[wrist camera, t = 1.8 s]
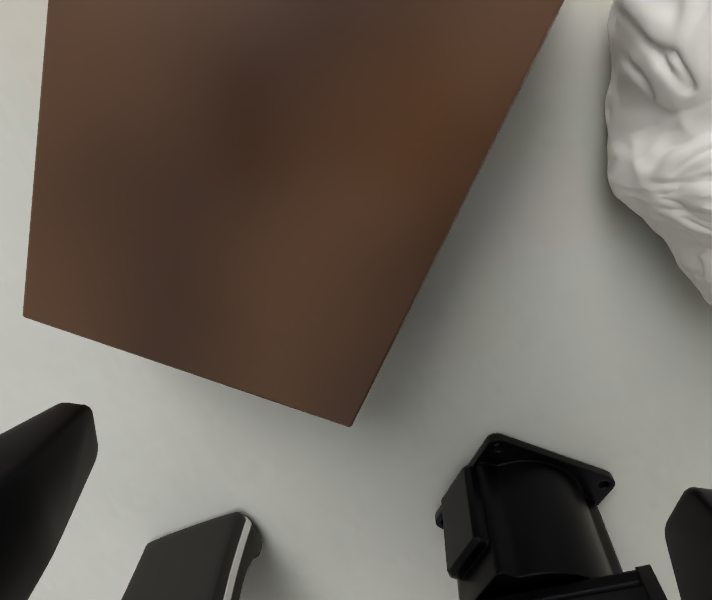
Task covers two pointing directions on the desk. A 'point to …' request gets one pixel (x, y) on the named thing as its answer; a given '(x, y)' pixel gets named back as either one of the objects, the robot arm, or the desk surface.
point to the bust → (664, 124)
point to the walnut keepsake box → (262, 176)
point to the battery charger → (197, 562)
